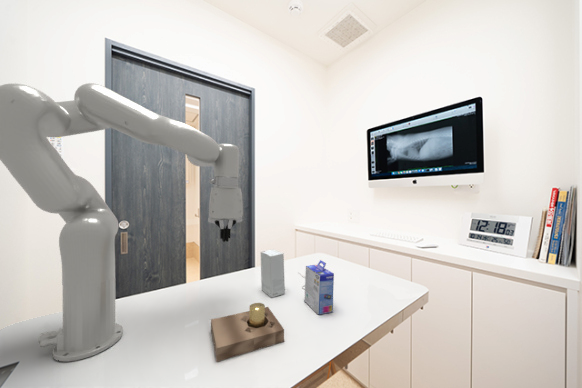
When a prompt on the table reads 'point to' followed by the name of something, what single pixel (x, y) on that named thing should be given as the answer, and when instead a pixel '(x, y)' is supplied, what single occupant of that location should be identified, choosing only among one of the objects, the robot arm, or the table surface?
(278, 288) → the skincare box
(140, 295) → the table surface
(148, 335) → the table surface
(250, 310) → the brass cylinder
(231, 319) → the jig
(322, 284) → the ink cartridge box
